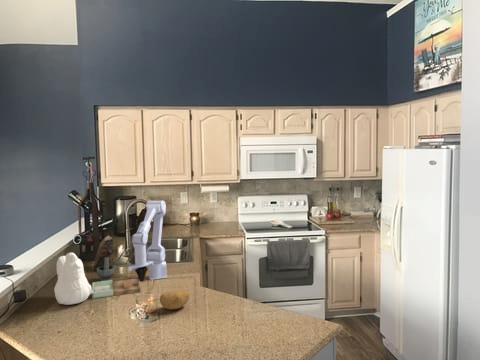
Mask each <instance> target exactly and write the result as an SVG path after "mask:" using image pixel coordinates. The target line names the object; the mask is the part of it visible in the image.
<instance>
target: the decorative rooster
mask: <svg viewBox="0 0 480 360" xmlns="http://www.w3.org/2000/svg"><path fill="white" fill-rule="evenodd" d="M84 269H85V268H84V264H83V261H82V259H80V258H79V257H78V256H77V255H76V253H74V252H72V251H71V252H68V253H66V255H61V256H59V257H58V259H57V261H56V275H57V280H56V283H55V286H54V289H53V290H54V295H55V296H54V297H55V299H56V301H57V303H58V304H60V305H66V306H67V305H68V306H69V305H70V306H71V305H75V304H80V303H81V302H84V301H86V300H87V299H88V298H89V297H90V295H92V285H91V284H90V283H89V280H88V279H87V277H86V274H85V270H84Z"/></svg>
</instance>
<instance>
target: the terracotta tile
mask: <svg viewBox="0 0 480 360" xmlns="http://www.w3.org/2000/svg"><path fill="white" fill-rule="evenodd" d="M126 280H127V281H123V286H124V288H127V287H133V282H132V280H130V279H126Z"/></svg>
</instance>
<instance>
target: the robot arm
mask: <svg viewBox="0 0 480 360" xmlns="http://www.w3.org/2000/svg"><path fill="white" fill-rule="evenodd" d="M166 204H167V203H166V202H165V200H164V199H163V200H147V202H146V204H145V208H146V212H145V215H144V219H143V221H142V222H140V223H139V226H138V228H137V230H136V233H134V234H132V238H131V242H132V246H133V248H134V264H132V265H129V266H127V271H128V272H131V271H135V273H136V274H137V277H138V279H139V280H138V282H141V283H142V282H143V283H144V281H145V277H146V274H147V271H149V274H148V279H149V280H150V281H153V280H159V279H167V278H168V275H167V273H168V270H167V269H168V267H167V262H166V248H165V247H164V246H163V245H161V243H162V234H163V232H162V231H163V223H164V222H163V221H164V216H165V215H166V212H167V211H166V210H167V205H166ZM152 220H153V227H152V225H151V223H152ZM151 227H152V238H151V239H152V240H151V245H150V246H148V247H147V246H146V244H147V242H148V241H149V240H148V237H149V232H150V229H151ZM148 267H149V268H148ZM148 269H149V270H148Z"/></svg>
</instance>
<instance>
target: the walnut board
mask: <svg viewBox="0 0 480 360" xmlns="http://www.w3.org/2000/svg"><path fill="white" fill-rule="evenodd" d="M127 280H128V279H125V280H124V279H123V280H116V281H115V280H114V281H112V282H113V295H114V296H113V297H116V296H123V295H129V294H130V295H131V294H137V293H141V287H140V284H139V280H138V278H131V279H129V280H132V282H133V287H127V288H124V286H123V281H127Z"/></svg>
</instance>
